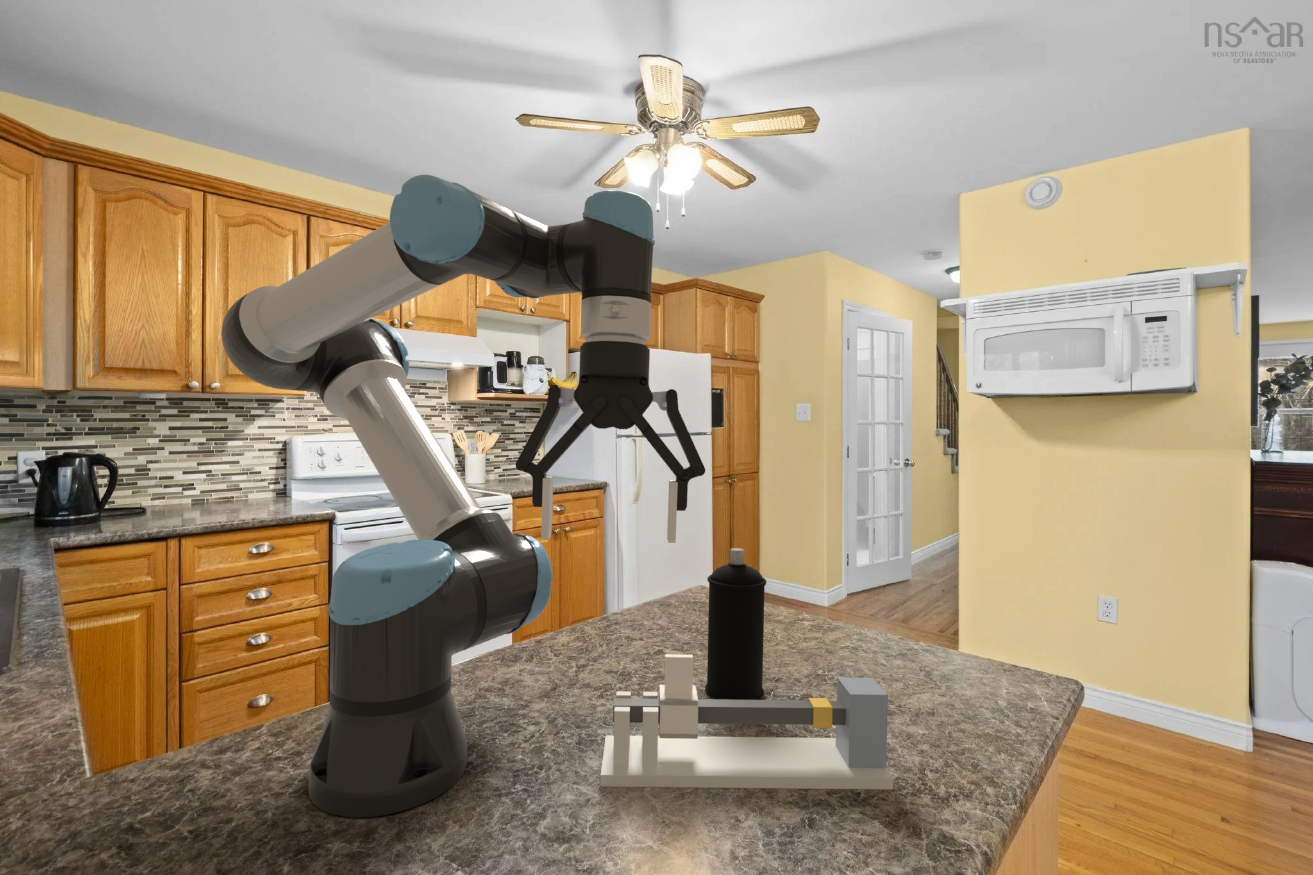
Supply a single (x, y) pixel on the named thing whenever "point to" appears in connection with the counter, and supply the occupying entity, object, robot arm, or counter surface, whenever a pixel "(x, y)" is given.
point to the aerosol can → (735, 631)
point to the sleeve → (678, 699)
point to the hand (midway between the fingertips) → (609, 539)
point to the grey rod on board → (755, 744)
